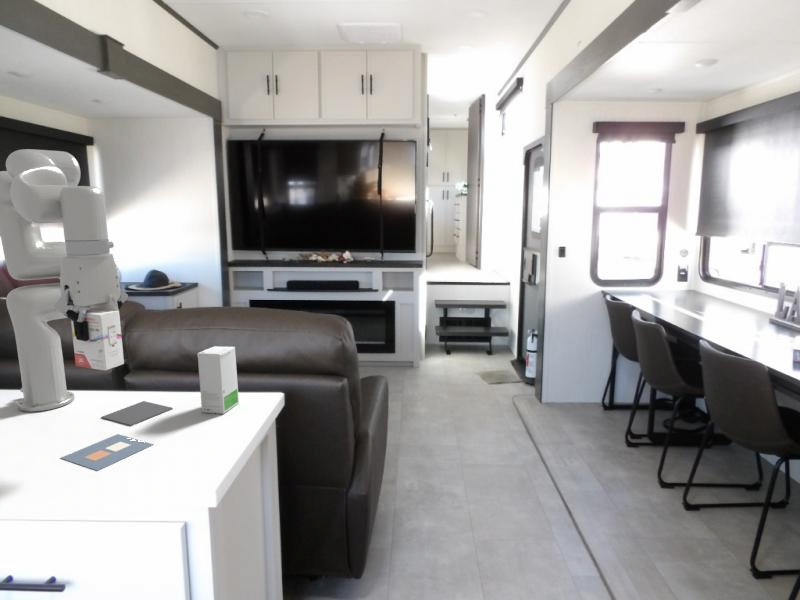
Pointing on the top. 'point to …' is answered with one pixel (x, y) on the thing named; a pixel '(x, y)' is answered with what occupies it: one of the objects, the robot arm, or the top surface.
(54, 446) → the top surface
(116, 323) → the ink cartridge box
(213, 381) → the skincare box
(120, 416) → the rubber mat
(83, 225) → the robot arm
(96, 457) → the tile
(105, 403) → the top surface
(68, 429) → the top surface
